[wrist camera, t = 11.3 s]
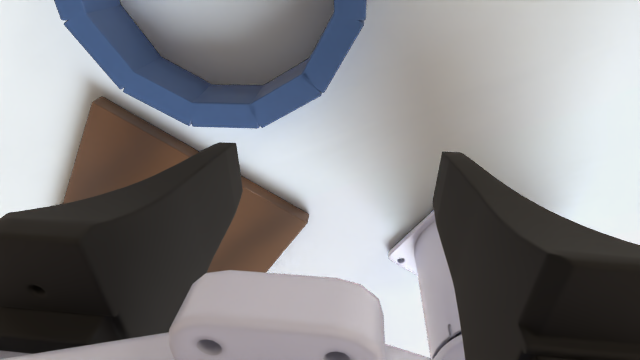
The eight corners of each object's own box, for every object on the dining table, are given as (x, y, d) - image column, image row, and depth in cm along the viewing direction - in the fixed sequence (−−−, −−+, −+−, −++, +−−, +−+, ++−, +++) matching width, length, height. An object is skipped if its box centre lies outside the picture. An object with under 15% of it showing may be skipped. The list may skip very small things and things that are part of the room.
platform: (309, 214, 26) (300, 259, 22) (222, 319, 34) (204, 366, 30) (101, 95, 23) (49, 126, 19) (57, 241, 30) (14, 284, 27)
